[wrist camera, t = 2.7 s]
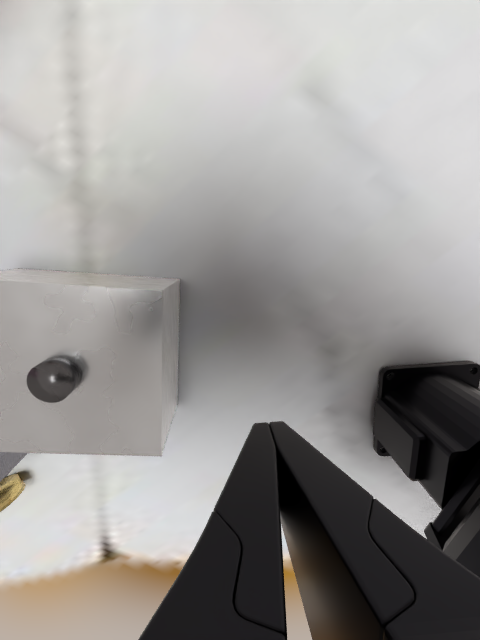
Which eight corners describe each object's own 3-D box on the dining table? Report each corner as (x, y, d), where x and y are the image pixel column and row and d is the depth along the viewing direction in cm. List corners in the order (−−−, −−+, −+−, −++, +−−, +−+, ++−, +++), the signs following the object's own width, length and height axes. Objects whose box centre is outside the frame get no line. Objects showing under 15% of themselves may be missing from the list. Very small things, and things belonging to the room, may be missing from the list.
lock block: (180, 278, 17) (157, 293, 11) (178, 402, 19) (157, 468, 13) (21, 268, 16) (-86, 278, 11) (36, 397, 18) (-48, 463, 13)
